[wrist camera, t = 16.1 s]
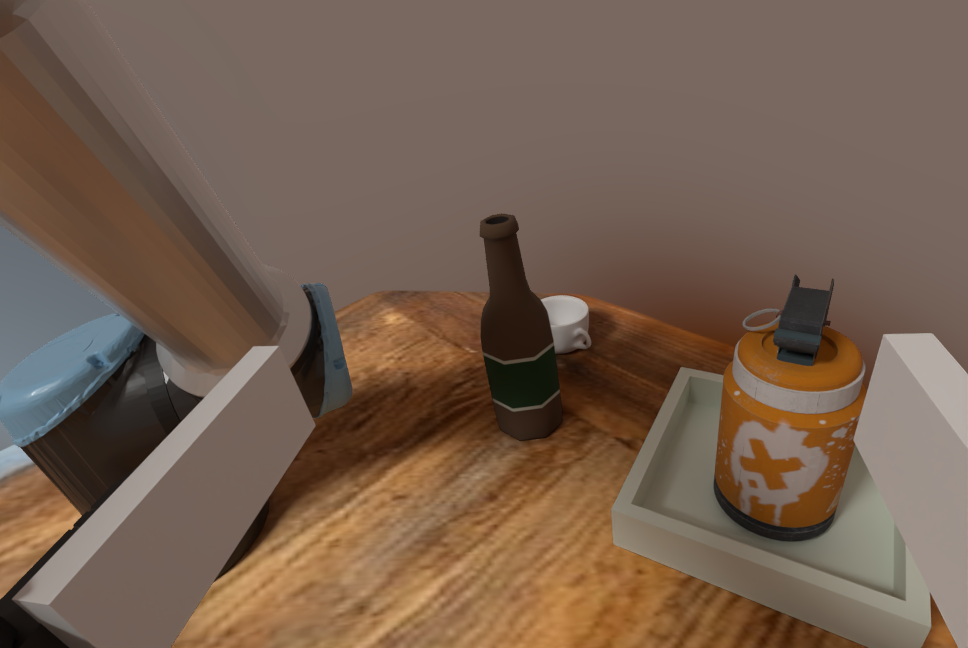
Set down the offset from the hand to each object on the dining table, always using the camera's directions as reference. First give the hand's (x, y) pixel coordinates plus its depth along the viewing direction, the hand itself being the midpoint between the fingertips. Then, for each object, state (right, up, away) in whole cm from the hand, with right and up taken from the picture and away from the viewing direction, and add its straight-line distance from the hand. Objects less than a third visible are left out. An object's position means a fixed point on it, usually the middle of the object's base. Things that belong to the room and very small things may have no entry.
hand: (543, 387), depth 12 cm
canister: (+24, -13, +33) cm, 42 cm away
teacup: (+10, -2, +58) cm, 58 cm away
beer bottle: (+4, -9, +47) cm, 48 cm away
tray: (+23, -14, +34) cm, 43 cm away
